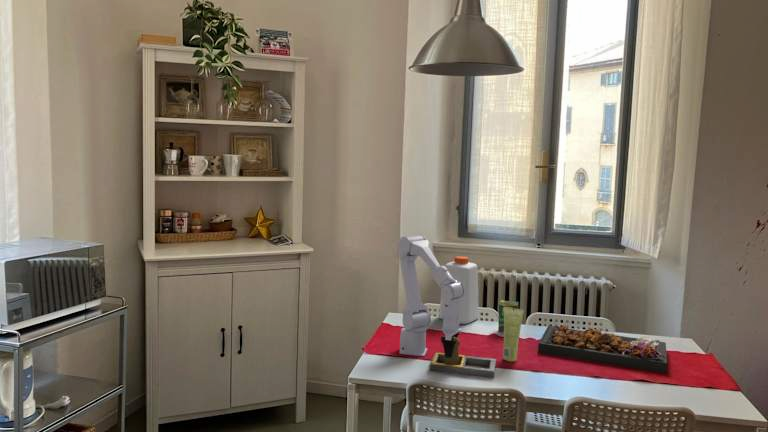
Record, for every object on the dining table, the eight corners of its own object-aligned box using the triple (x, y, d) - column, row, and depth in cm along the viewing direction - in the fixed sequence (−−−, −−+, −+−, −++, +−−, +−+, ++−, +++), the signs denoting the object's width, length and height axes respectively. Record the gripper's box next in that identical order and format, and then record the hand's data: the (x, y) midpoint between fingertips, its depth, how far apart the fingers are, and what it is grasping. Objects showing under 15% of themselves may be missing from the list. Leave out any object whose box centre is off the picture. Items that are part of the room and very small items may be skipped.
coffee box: (497, 331, 262) (498, 301, 260) (498, 329, 265) (500, 299, 263) (516, 334, 259) (518, 303, 258) (517, 332, 262) (519, 301, 260)
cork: (459, 371, 217) (460, 341, 215) (441, 369, 218) (443, 339, 216) (460, 365, 223) (462, 335, 221) (443, 363, 224) (445, 334, 222)
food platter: (664, 353, 244) (667, 327, 242) (666, 375, 221) (668, 347, 220) (547, 335, 261) (549, 311, 260) (537, 354, 238) (539, 328, 237)
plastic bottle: (452, 311, 289) (454, 252, 285) (481, 318, 280) (484, 257, 276) (435, 319, 277) (438, 257, 273) (465, 326, 268) (468, 262, 264)
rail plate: (429, 371, 216) (430, 363, 216) (434, 359, 228) (434, 352, 228) (493, 378, 212) (494, 370, 211) (495, 365, 223) (496, 358, 223)
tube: (513, 356, 233) (516, 305, 231) (520, 361, 229) (524, 309, 226) (500, 357, 231) (503, 306, 229) (507, 362, 227) (510, 310, 224)
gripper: (460, 323, 210) (458, 362, 212) (464, 311, 224) (463, 347, 226) (440, 321, 212) (438, 359, 214) (445, 309, 226) (443, 345, 228)
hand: (449, 353), depth 220 cm, fingers open, 7 cm apart
